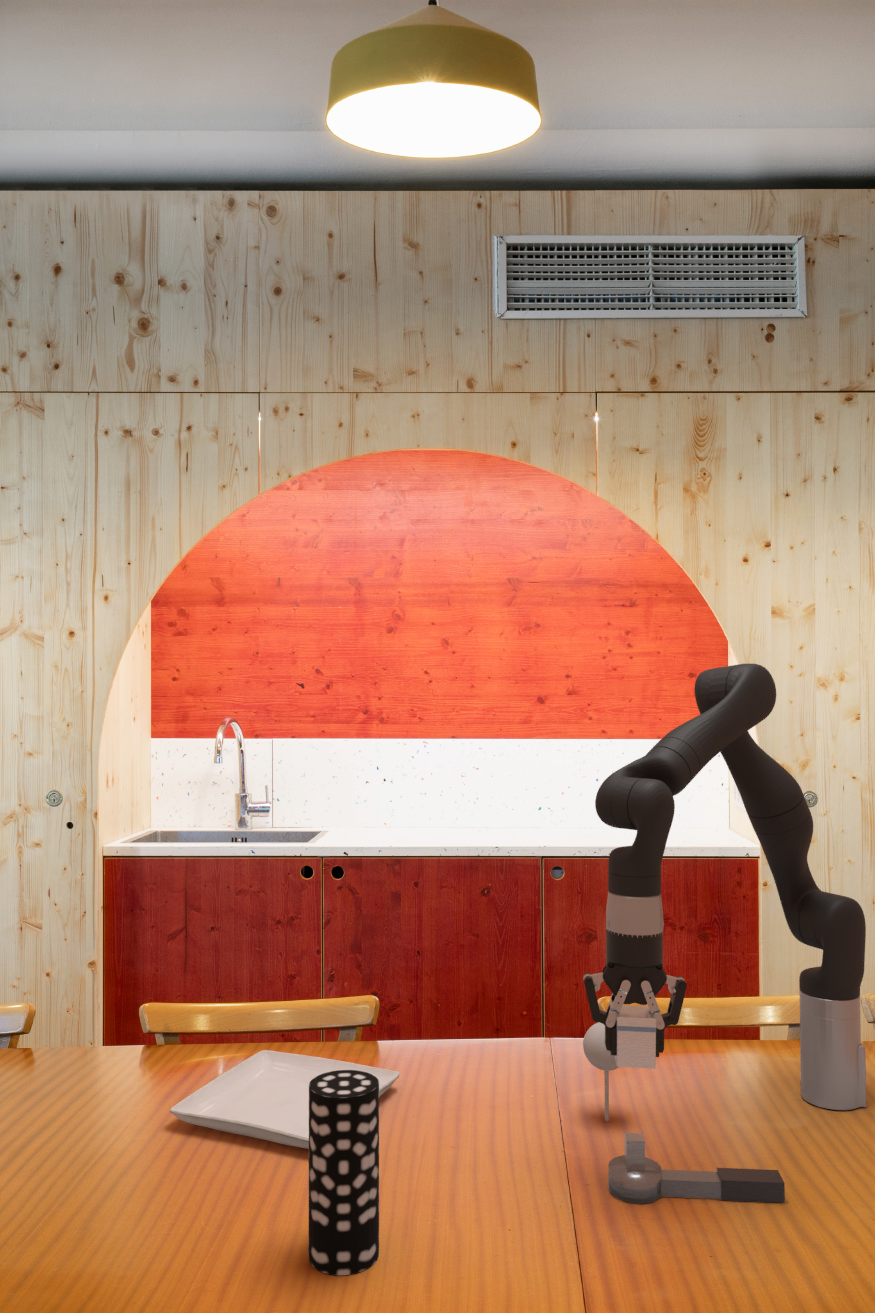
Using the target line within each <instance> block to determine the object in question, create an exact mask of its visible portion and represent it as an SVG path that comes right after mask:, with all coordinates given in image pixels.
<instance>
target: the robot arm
mask: <svg viewBox="0 0 875 1313" xmlns="http://www.w3.org/2000/svg"><path fill="white" fill-rule="evenodd" d="M694 697H695V702H696V706H697V709H698V711H699V715H697V716H695V717H693V718H691V719H689V720H687V721H685V722H683V723H682V724H680V725H678V726H676V727H674V729H672V730H670V731H669V732H668V733H666V734H665V735H664V736H663V737H662V738H661V739H660V740H658V742H657V743H655V744H654V746H653V747H652V748H651V749H650V750H649V751H648V752H647V753H646V754H645V755H644V756H642V757H640V758H638V759H635V760H633V761H632V762H630V763H628V764H625V765H624V766H622V767H621V768H619V769H617V770H615V771H614V772H613V773H611V774H610V775H609V776H608V777H606V779H604V780H603V782H602V783H601V785H600V786H599V787H598V790H597V792H596V796H595V800H594V802H595V803H594V804H595V805H594V806H595V811H596V814H597V816H598V818H599V819H600V821H602V822H603V824H605V825H607V826H609V827H611V828H616V829H625V830H632V831H636V836H635V839H634V841H633V843H632V845H628V846H627V845H625V846H619V847H615V848H614V849H612V850H611V851H610V853H609V855H608V863H607V864H608V865H607V870H608V872H607V875H608V876H607V883H608V884H607V886H608V887H607V901H606V907H605V909H606V910H605V964H604V965H605V966H604V967H603V969H602V972H598V973H597V972H596V973H592V974H591V973H590V972H585V973H584V974H583V975H582V978H583V984H584V988H585V993H586V996H587V1002H588V1004H589V1005H588V1006H589V1010H590V1015H591V1018H592V1021H593V1022H594V1023H599V1022H600V1023H602V1024H604V1025H605V1046H606V1049H607V1051H610V1053H611V1055H616V1026H615V1022H616V1014H619V1013H620V1011H621V1009H622V1006H623V1005H631V1004H638V1005H639V1006H648V1007H649V1010H650V1012H651V1015H655V1017H656V1058H660V1054H661V1053H662V1054H663V1052H664V1050H665V1030H666V1028H667V1027H668V1026H669V1027H670V1026H677V1025H678V1023H679V1021H680V1016H681V1014H682V1013H681V1012H682V1008H683V1005H684V999H685V995H686V992H687V988H688V985H687V982H686V980H685V979H684V977H683V976H681V975H677V976H674V975H673V976H672V975H668V974H666V971H665V970H664V926H665V921H664V910H663V908H664V907H663V902H662V863H663V862H662V861H663V857H664V855H665V854H664V853H665V850H666V845H667V842H668V839H669V838H668V837H669V834H670V832H671V828H672V823H673V820H674V816H675V805H676V804H675V799H674V796H676V795H678V794H679V793H681V792H682V791H684V789H685V788H686V787H687V786H688V785H689V784H690V783H691V782H692V781H693V779H694V778H696V776H698V774H699V773H700V772H701V771H702V770H703V768H704V767H705V766H706V765H707V764H708V763H709V762H710V761H711V760H712V759H714V757H716V756H718V754H719V753H720V754H721V756H722V758H723V759H724V762H725V764H726V765H727V768H728V771H729V772H730V775H731V777H732V779H733V781H734V783H735V785H736V789H737V791H738V793H739V795H740V798H741V800H742V801H741V802H742V803H743V805H744V808H745V812H746V814H747V816H748V819H749V821H750V823H751V824H750V825H751V826H752V829H753V832H754V833H755V835H756V837H757V838H758V841H759V844H760V846H761V849H762V851H763V855H764V856H765V859H766V862H767V864H768V867H769V870H770V872H771V874H772V877H773V880H774V884H775V887H776V890H777V894H778V897H779V900H780V904H781V907H782V911H783V914H784V918H785V921H786V924H787V926H788V929H789V930H790V933H791V934H792V935H793V937H794V938H795V939H796V940H797V941H798V942H800V943H802V944H804V945H806V946H809V947H812V948H816V949H819V950H822V959H821V965H820V966H815V967H814V966H813V967H809V968H805V969H803V970H802V971H801V972H800V973H799V977H798V978H799V980H798V981H799V982H798V984H799V985H798V986H799V989H798V990H799V1040H800V1041H799V1043H800V1044H799V1047H800V1050H799V1051H800V1053H799V1055H800V1058H799V1059H800V1081H799V1082H800V1095H801V1098H803V1100H804V1101H806V1102H807V1103H809V1104H811V1105H814V1106H816V1107H819V1108H823V1109H827V1110H828V1109H829V1110H834V1111H849V1110H855V1109H858V1108H866V1107H867V1077H866V1076H867V1075H866V1074H867V1070H866V1065H867V1063H866V1056H867V1055H866V1046H865V1045H864V1044H863V1042H862V1037H861V1036H862V1033H861V1030H862V1029H861V1026H862V1024H861V1023H862V1022H861V985H862V982H863V980H864V979H863V978H864V975H865V964H866V963H865V961H866V960H865V959H866V939H867V938H866V936H867V934H866V933H867V929H866V928H867V925H866V919H865V914H864V911H863V909H862V906H861V905H860V903H859V902H858V901H857V900H856V899H853V898H852V897H848V896H844V895H841V894H837V893H836V894H835V893H831V892H827V891H823V890H821V889H820V888H819V886H818V885H817V884H816V881H815V878H814V877H813V875H812V872H811V870H810V866H809V863H808V854H809V850H810V847H811V842H812V840H813V834H814V818H813V816H812V813H811V810H810V808H809V804H808V801H807V800H806V797H805V796H804V792H803V790H802V788H801V786H800V784H799V782H798V781H797V779H796V778H795V777H794V776H792V774H791V773H790V772H789V771H788V770H787V769H786V768H784V766H782V765H781V764H780V763H779V762H778V761H776V760H775V759H774V758H773V757H772V756H770V755H769V754H768V753H767V752H765V750H764V749H763V748H761V746H759V745H758V744H757V742H756V741H755V739H754V738H753V737H752V736H751V734H750V732H749V730H751V729H752V728H754V727H755V726H757V725H758V724H760V723H761V722H762V721H764V720H766V719H767V718H768V716H770V714H771V713H772V712H773V709H774V707H775V704H776V700H777V689H776V682H775V680H774V678H773V676H772V674H771V672H770V671H769V670H768V669H767V668H766V667H765V666H763V665H761V664H758V663H740V664H734V665H726V666H722V667H721V666H719V667H714V668H713V667H712V668H709V669H705V670H704V671H702V672H700V673H699V674H698V675H697V677H696V680H695V682H694ZM602 982H604V983H605V984H606V986H607V987H608V989H609V990H610V992H611V996H610V997H609V998H610V999H609V1001H608V1006H607V1008H606V1011H604V1010H602V1009H600V1005H599V1001H598V997H597V994H596V992H598V991H600V989H601V984H602ZM665 985H668V986H667V989H668V991H669V993H670V999H669V1002H668V1007H667V1010H666V1011H667V1012H665V1013H662V1014H661V1010H660V1008H659V1005H658V1002H657V998H656V996H658V994H659V993H660V992H661V989H663V988H664V986H665Z"/></svg>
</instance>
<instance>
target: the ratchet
mask: <svg viewBox="0 0 875 1313" xmlns="http://www.w3.org/2000/svg"><path fill="white" fill-rule="evenodd" d="M643 1133H644V1132H643ZM643 1133H642V1132H624V1155H618V1156H615V1157H613V1158H612V1159H610V1161H609V1162H608V1165H607V1166H608V1169H607V1170H608V1173H607V1175H608V1179H607V1180H608V1191H609V1194H611V1195H612V1196H613V1197H614V1198H615V1199H617V1200H619V1201H621V1202H623V1203H624V1202H625V1203H628V1204H635V1205H645V1204H652V1203H655V1202H656V1201H659V1199H661V1198H663V1197H664V1198H685V1199H708V1200H721V1201H725V1202H726V1201H728V1202H747V1203H751V1202H752V1203H768V1204H769V1203H772V1204H786V1198H785V1197H786V1196H785V1194H786V1192H785V1186H786V1184H785V1181H784V1179H783V1177H782V1176H781V1173H780V1172H779V1170H778V1169H759V1168H738V1167H737V1168H735V1167H716V1171H707V1170H705V1171H704V1170H685V1169H683V1170H682V1169H680V1170H679V1169H678V1170H677V1169H662V1167H661V1165H660V1164H659V1163H658V1162H657V1161H656V1160H653V1159H652V1158H649V1157H647V1156H646V1141H645V1138H644V1134H643Z"/></svg>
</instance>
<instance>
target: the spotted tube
mask: <svg viewBox="0 0 875 1313" xmlns="http://www.w3.org/2000/svg"><path fill="white" fill-rule="evenodd" d="M379 1255H380V1097H379V1080H378V1079H377V1078H376V1077H375V1076H374V1075H372V1074H370V1073H367V1072H363V1071H357V1070H337V1071H331V1072H327V1073H323V1074H321V1075H318V1076H316V1077H315V1078H313V1079H312V1080H311V1081H310V1083H309V1149H308V1261H309V1263H310V1265H311V1266H312V1267H313V1268H314V1269H315V1270H316V1271H319V1272H321V1273H322V1274H327V1275H332V1276H348V1275H349V1276H350V1275H354V1274H359V1273H362V1272H364V1271H365V1270H368V1269H369V1268H371V1267H372V1266H374V1264H375V1263H376V1262H377V1260H378V1258H379Z"/></svg>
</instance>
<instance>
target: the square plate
mask: <svg viewBox="0 0 875 1313" xmlns="http://www.w3.org/2000/svg"><path fill="white" fill-rule="evenodd" d="M337 1070H357V1071H363V1072H367V1073H370V1074H372V1075H374V1076H375V1077H376V1078H377V1079H378V1080H379V1098H380V1097H381V1096H382V1095H383V1094H384V1093H386V1092H387V1091H388V1089H390V1087H391V1086H392V1085H393V1084H394V1083H395V1082H396V1080H397V1079H398V1078H400V1074H401V1073H400V1072H399V1071H398V1070H393V1069H392V1070H391V1069H385V1068H381V1067H375V1066H372V1065H366V1064H365V1065H364V1064H362V1063H361V1064H360V1063H356V1062H349V1061H343V1060H339V1059H333V1058H326V1057H320V1056H314V1055H307V1054H306V1055H305V1054H300V1053H290V1052H283V1051H275V1050H269V1049H262V1050H260V1051H258V1052H257V1053H255V1054H252V1055H251V1056H249V1057H248V1058H246V1059H244V1060H243V1061H241V1062H240V1063H238V1064H236V1065H234V1066H233V1067H231V1068H229V1069H228V1070H227V1071H225V1072H223V1073H222V1074H220V1075H218V1076H217V1077H216V1078H214V1079H212V1080H211V1081H209V1082H208V1083H206V1084H204V1085H203V1086H201V1087H200V1088H198V1089H197V1090H196V1091H193V1092H192V1093H191V1094H189V1095H188V1096H186V1097H185V1098H183V1099H182V1100H180V1101H179V1102H178V1103H176V1104H175V1105H173V1106H172V1107H170V1108H169V1112H170V1113H171V1114H172V1115H173V1116H174V1117H175V1118H177V1119H179V1120H180V1121H182V1122H184V1123H186V1124H191V1125H194V1126H200V1127H204V1128H209V1129H212V1130H215V1131H219V1132H225V1133H230V1134H234V1135H240V1136H244V1137H248V1138H255V1139H258V1140H263V1141H264V1140H265V1141H268V1142H273V1143H275V1144H276V1143H277V1144H281V1145H284V1146H285V1145H286V1146H291V1147H296V1148H301V1149H306V1150H309V1083H310V1081H311V1080H312V1079H313V1078H315V1077H316V1076H318V1075H321V1074H323V1073H327V1072H331V1071H337Z"/></svg>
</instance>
